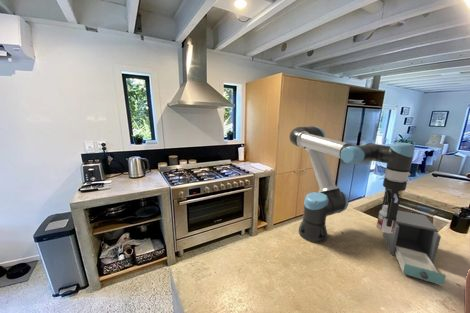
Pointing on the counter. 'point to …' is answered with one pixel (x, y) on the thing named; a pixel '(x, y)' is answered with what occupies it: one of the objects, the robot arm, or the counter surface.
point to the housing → (413, 234)
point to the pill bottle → (381, 219)
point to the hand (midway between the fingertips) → (384, 227)
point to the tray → (418, 265)
